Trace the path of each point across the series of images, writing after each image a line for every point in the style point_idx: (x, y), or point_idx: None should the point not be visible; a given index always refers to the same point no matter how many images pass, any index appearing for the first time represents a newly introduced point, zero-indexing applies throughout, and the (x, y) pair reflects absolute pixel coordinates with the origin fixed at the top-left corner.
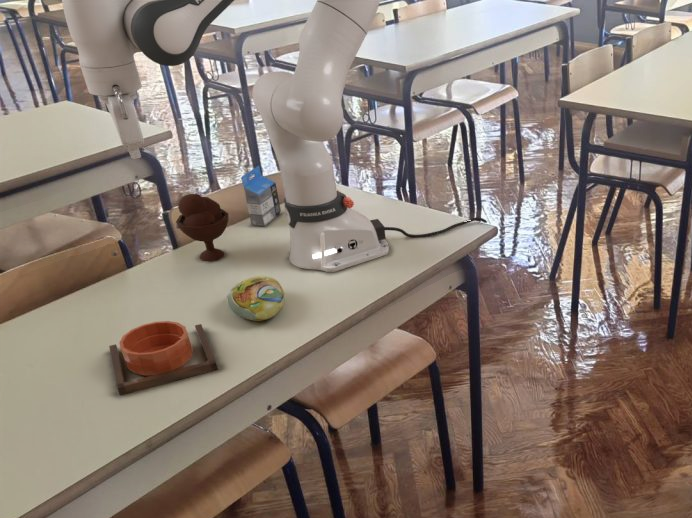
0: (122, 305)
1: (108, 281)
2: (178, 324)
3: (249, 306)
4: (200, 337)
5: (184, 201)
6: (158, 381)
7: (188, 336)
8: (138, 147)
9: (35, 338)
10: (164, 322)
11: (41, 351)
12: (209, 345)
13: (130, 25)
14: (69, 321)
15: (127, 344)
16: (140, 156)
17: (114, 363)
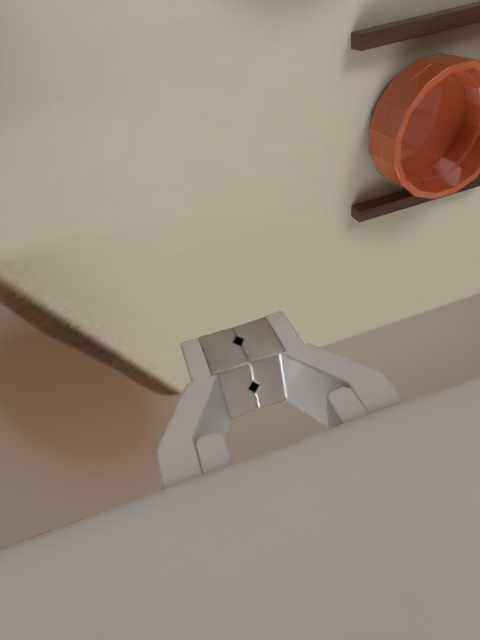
0: (171, 234)
1: (41, 288)
2: (434, 83)
3: None
4: (418, 34)
5: None
6: None
7: (466, 58)
8: (320, 348)
9: None
10: (409, 118)
11: (297, 320)
12: (459, 10)
13: None
14: (211, 311)
15: (416, 186)
16: (283, 313)
17: (419, 201)
